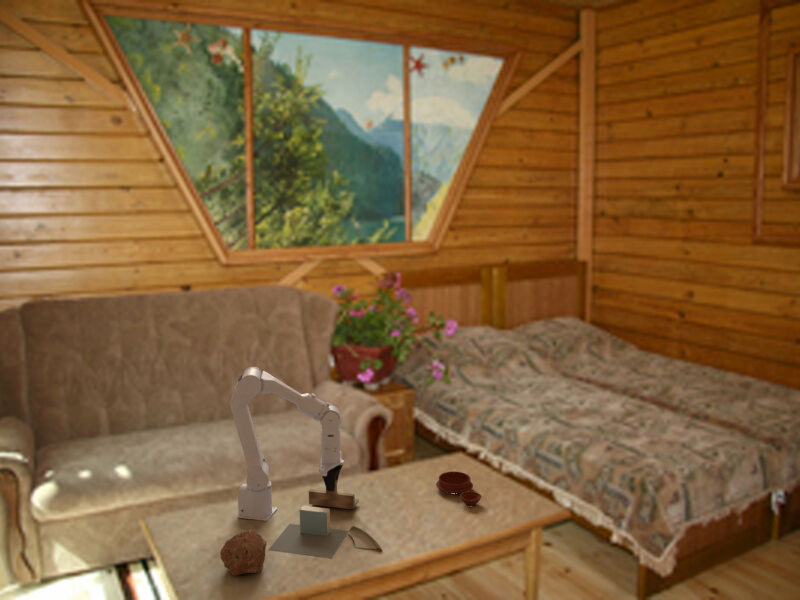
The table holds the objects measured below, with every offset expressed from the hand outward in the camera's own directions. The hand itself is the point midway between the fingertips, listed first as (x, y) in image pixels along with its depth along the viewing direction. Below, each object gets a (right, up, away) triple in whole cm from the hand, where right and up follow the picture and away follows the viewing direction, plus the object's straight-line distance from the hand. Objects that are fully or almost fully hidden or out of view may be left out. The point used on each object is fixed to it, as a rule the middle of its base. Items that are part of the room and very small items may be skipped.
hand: (331, 489), depth 214 cm
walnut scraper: (0, -5, +3) cm, 6 cm away
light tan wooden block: (-3, -9, -13) cm, 16 cm away
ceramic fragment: (+11, -11, -17) cm, 23 cm away
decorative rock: (-19, -13, -31) cm, 39 cm away
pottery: (+40, -5, +11) cm, 41 cm away
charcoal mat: (-4, -10, -17) cm, 20 cm away
